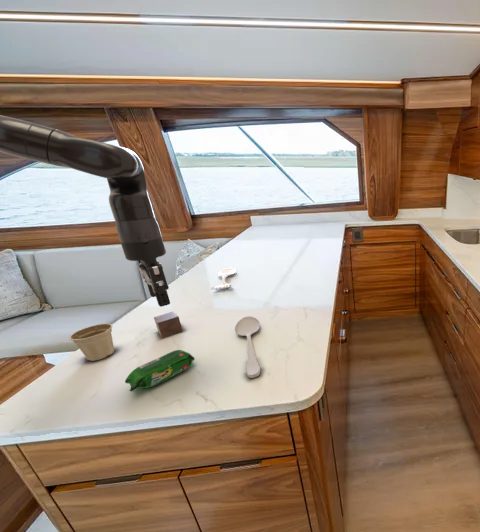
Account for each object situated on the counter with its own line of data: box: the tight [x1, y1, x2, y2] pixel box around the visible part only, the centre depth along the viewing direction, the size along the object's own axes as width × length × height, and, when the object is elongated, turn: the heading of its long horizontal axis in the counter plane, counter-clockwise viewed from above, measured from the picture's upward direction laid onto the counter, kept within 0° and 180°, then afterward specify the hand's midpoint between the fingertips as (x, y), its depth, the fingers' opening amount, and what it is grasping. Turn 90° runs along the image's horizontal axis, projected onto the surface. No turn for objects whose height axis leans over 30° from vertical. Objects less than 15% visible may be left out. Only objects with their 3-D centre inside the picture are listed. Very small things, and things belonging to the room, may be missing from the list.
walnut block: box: [153, 311, 183, 339], centre depth 104 cm, size 6×6×6 cm
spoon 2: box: [210, 267, 237, 291], centre depth 150 cm, size 9×32×4 cm, turn 25°
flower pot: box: [68, 323, 115, 362], centre depth 91 cm, size 9×9×9 cm
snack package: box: [124, 349, 195, 392], centre depth 82 cm, size 7×16×5 cm, turn 149°
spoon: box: [234, 316, 261, 379], centre depth 95 cm, size 35×8×3 cm, turn 29°
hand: (160, 300), depth 75 cm, fingers open, 8 cm apart
